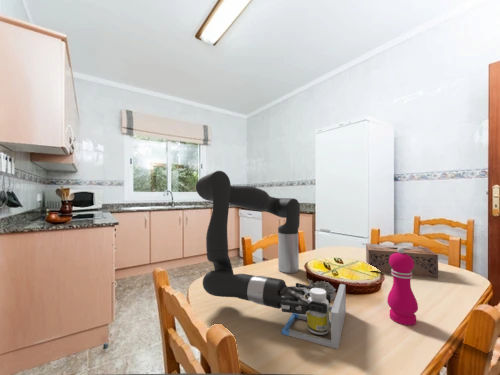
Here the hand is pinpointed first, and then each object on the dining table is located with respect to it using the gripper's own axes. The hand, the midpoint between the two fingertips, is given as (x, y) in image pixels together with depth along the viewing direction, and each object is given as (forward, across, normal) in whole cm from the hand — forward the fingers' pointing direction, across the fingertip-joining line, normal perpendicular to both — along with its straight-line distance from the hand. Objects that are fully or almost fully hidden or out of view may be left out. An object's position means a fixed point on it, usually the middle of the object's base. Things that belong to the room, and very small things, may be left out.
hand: (328, 303), depth 60 cm
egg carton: (-6, +24, +8) cm, 26 cm away
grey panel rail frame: (-4, +4, +8) cm, 10 cm away
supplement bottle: (-3, 0, +7) cm, 8 cm away
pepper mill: (+17, +16, +8) cm, 25 cm away
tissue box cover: (+21, +66, +8) cm, 70 cm away
